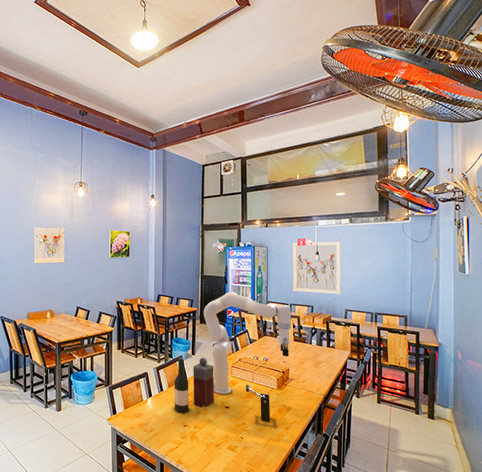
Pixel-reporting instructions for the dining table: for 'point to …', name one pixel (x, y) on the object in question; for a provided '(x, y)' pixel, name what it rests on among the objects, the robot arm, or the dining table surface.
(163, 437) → the dining table surface
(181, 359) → the wine bottle
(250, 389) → the faucet lever
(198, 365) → the square decanter
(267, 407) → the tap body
